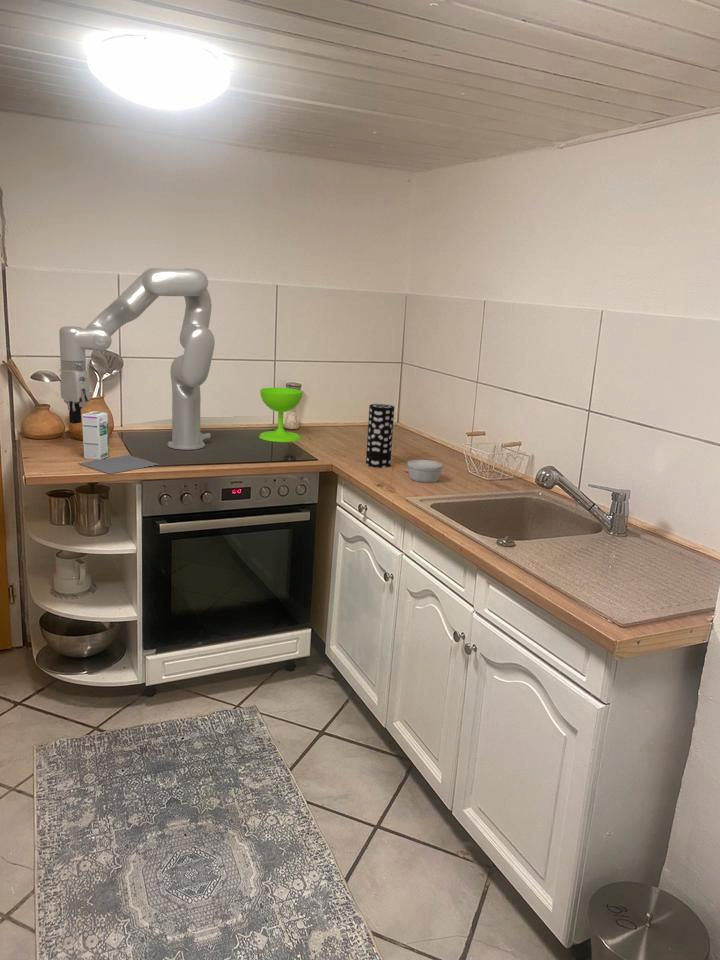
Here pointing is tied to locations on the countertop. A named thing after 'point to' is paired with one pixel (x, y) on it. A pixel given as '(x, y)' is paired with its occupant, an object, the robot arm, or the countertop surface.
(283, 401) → the wineglass
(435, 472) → the ramekin
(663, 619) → the countertop surface
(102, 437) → the syrup box
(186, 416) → the robot arm
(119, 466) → the mat
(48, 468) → the countertop surface
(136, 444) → the countertop surface
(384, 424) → the spotted tube
